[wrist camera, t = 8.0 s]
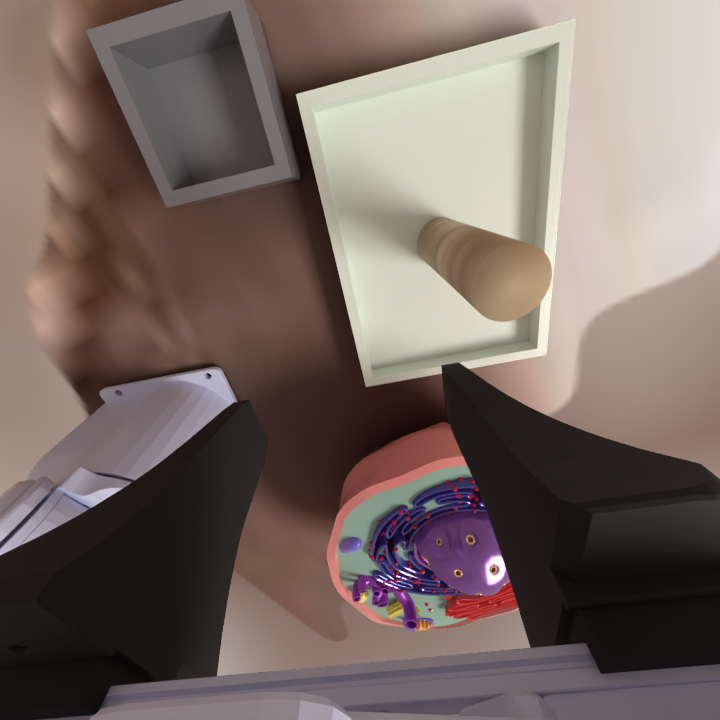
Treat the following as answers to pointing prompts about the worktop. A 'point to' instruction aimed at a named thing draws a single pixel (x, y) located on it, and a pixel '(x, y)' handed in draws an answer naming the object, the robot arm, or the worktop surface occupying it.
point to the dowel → (486, 267)
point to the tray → (440, 192)
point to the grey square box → (200, 98)
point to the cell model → (417, 538)
